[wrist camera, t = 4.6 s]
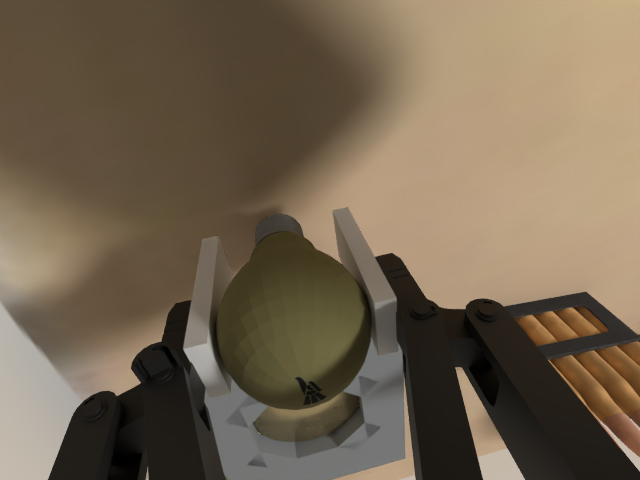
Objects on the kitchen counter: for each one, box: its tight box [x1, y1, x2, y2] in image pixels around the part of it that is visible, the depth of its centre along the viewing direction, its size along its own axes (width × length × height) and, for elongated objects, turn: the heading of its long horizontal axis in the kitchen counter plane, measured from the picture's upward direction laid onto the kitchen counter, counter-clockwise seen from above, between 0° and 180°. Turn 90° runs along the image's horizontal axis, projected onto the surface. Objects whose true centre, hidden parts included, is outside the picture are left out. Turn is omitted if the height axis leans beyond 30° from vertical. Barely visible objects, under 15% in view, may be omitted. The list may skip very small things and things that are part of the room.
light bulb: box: [216, 214, 371, 410], centre depth 15 cm, size 6×6×10 cm
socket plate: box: [204, 338, 405, 480], centre depth 29 cm, size 20×16×2 cm
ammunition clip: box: [505, 292, 640, 457], centre depth 24 cm, size 11×2×12 cm, turn 92°
